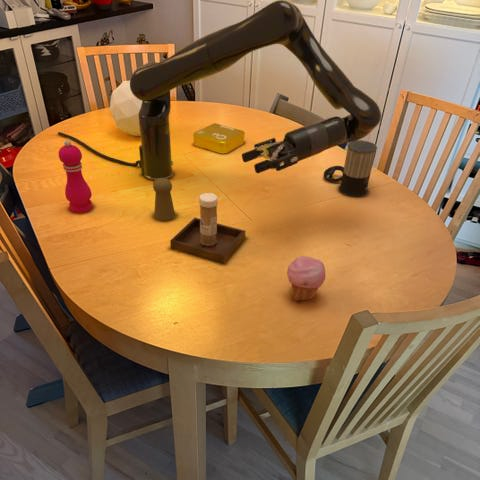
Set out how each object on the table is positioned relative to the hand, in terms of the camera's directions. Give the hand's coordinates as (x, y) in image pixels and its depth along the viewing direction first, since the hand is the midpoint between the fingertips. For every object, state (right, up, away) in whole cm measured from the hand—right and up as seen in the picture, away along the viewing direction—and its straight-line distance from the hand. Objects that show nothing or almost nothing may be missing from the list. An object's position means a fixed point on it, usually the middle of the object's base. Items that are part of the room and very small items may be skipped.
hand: (248, 163), depth 117 cm
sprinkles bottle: (-11, -18, +9) cm, 23 cm away
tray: (-11, -18, +9) cm, 23 cm away
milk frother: (+32, +5, +39) cm, 51 cm away
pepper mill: (-49, -6, +21) cm, 54 cm away
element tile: (-10, +28, +61) cm, 68 cm away
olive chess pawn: (-24, -9, +19) cm, 32 cm away
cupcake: (+13, -33, -6) cm, 36 cm away
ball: (-42, +34, +66) cm, 85 cm away
